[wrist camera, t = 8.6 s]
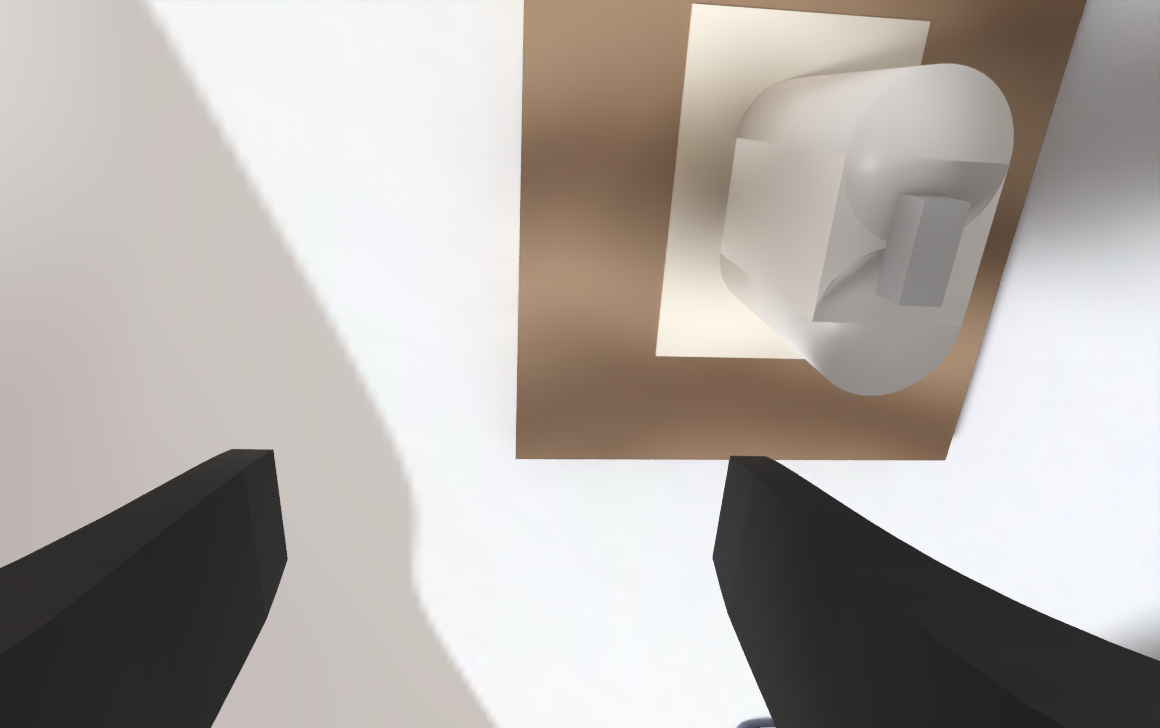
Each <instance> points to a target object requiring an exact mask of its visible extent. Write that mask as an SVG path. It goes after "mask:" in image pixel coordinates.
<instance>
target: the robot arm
mask: <svg viewBox="0 0 1160 728" xmlns="http://www.w3.org/2000/svg"><path fill="white" fill-rule="evenodd" d="M287 559H288V558H287V551H286V543H285V535H284V528H283V520H282V513H281V505H280V497H279V490H278V482H277V474H276V467H275V459H274V452H273V450H253V449H231V450H229V451H226V452H224V453H222V454H219V455H217V456H215V457H213V458H211V459H209V460H207V461H205V462H203V463H201V464H199V465H197V466H196V467H194V468H192V469H190V470H188V471H186V472H185V473H183V474H181V475H179V476H177V477H175V478H174V479H172V480H170V481H168V482H166V483H164V484H163V485H161V486H159V487H157V488H155V489H154V490H152V491H150V492H148V493H146V494H144V495H142V496H141V497H139V498H137V499H135V500H133V501H131V502H130V503H128V504H126V505H124V506H122V507H120V508H119V509H117V510H115V511H113V512H111V513H110V514H108V515H106V516H104V517H102V518H100V519H98V520H96V521H94V522H92V523H90V524H89V525H86V526H84V527H82V528H80V529H78V530H77V531H74V532H72V533H70V534H68V535H66V536H65V537H63V538H61V539H59V540H57V541H55V542H53V543H51V544H49V545H47V546H45V547H43V548H41V549H39V550H37V551H35V552H33V553H31V554H29V555H27V556H25V557H23V558H21V559H19V560H17V561H15V562H13V563H11V564H8V565H6V566H4V567H2V568H0V728H211V726H212V724H213V722H214V721H215V719H216V717H217V715H218V713H219V711H220V709H221V707H222V705H223V703H224V701H225V699H226V697H227V695H228V694H229V692H230V690H231V688H232V686H233V684H234V682H235V680H236V678H237V676H238V674H239V672H240V671H241V669H242V667H243V664H244V663H245V661H246V659H247V657H248V655H249V652H250V651H251V649H252V647H253V645H254V643H255V641H256V639H257V637H258V635H259V633H260V631H261V629H262V627H263V625H264V623H265V621H266V619H267V616H268V614H269V610H270V608H271V605H272V603H273V600H274V597H275V594H276V592H277V589H278V586H279V583H280V580H281V577H282V574H283V571H284V568H285V565H286V562H287ZM713 561H714V565H715V569H716V573H717V577H718V581H719V585H720V588H721V592H722V595H723V599H724V602H725V606H726V609H727V613H728V615H729V618H730V620H731V623H732V625H733V628H734V630H735V632H736V635H737V637H738V639H739V642H740V644H741V647H742V649H743V651H744V654H745V656H746V659H747V661H748V663H749V666H750V668H751V670H752V673H753V675H754V677H755V680H756V682H757V684H758V687H759V689H760V691H761V694H762V696H763V698H764V701H765V703H766V705H767V708H768V710H769V712H770V715H771V717H772V719H773V722H774V724H775V726H776V727H762V728H1160V661H1158V660H1155V659H1153V658H1150V657H1147V656H1145V655H1142V654H1140V653H1137V652H1134V651H1132V650H1129V649H1127V648H1124V647H1121V646H1119V645H1116V644H1114V643H1111V642H1109V641H1106V640H1104V639H1102V638H1099V637H1097V636H1095V635H1092V634H1090V633H1087V632H1085V631H1083V630H1080V629H1078V628H1076V627H1073V626H1071V625H1068V624H1066V623H1064V622H1061V621H1059V620H1057V619H1054V618H1052V617H1050V616H1047V615H1045V614H1043V613H1041V612H1038V611H1036V610H1034V609H1032V608H1030V607H1027V606H1025V605H1023V604H1021V603H1019V602H1017V601H1014V600H1012V599H1010V598H1008V597H1006V596H1004V595H1002V594H1000V593H998V592H996V591H994V590H992V589H990V588H988V587H986V586H984V585H982V584H980V583H978V582H976V581H974V580H972V579H970V578H968V577H966V576H964V575H962V574H960V573H958V572H957V571H955V570H953V569H951V568H949V567H947V566H945V565H943V564H942V563H940V562H938V561H936V560H934V559H933V558H931V557H929V556H928V555H926V554H924V553H922V552H921V551H919V550H917V549H915V548H914V547H912V546H910V545H909V544H907V543H905V542H903V541H902V540H900V539H898V538H896V537H895V536H893V535H892V534H890V533H888V532H887V531H885V530H883V529H882V528H880V527H878V526H877V525H875V524H874V523H872V522H870V521H869V520H867V519H866V518H864V517H862V516H861V515H859V514H858V513H856V512H855V511H853V510H852V509H850V508H848V507H847V506H845V505H844V504H842V503H841V502H839V501H838V500H836V499H835V498H833V497H832V496H830V495H828V494H827V493H825V492H824V491H822V490H821V489H819V488H818V487H816V486H815V485H813V484H812V483H810V482H809V481H807V480H806V479H804V478H802V477H801V476H799V475H798V474H796V473H795V472H793V471H791V470H790V469H788V468H787V467H785V466H783V465H782V464H780V463H778V462H776V461H775V460H773V459H771V458H769V457H767V456H730V459H729V465H728V471H727V477H726V482H725V488H724V494H723V500H722V505H721V511H720V517H719V523H718V529H717V534H716V540H715V546H714V552H713Z"/></svg>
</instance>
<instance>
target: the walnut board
mask: <svg viewBox="0 0 1160 728" xmlns="http://www.w3.org/2000/svg"><path fill="white" fill-rule="evenodd" d="M1085 3H1086V0H524V37H523V91H522V146H521V200H520V254H519V309H518V363H517V417H516V459H681V460H729V459H730V456H767V457H769V458H771V459H773V460H946V456H947V453H948V450H949V447H950V443H951V440H952V437H953V434H954V430H955V427H956V424H957V421H958V417H959V414H960V411H961V408H962V404H963V401H964V398H965V394H966V391H967V388H968V385H969V381H970V378H971V375H972V372H973V368H974V365H975V362H976V359H977V355H978V352H979V349H980V345H981V342H982V339H983V336H984V332H985V329H986V326H987V323H988V319H989V316H990V313H991V310H992V306H993V303H994V300H995V296H996V293H997V290H998V287H999V283H1000V280H1001V277H1002V274H1003V270H1004V267H1005V264H1006V261H1007V257H1008V254H1009V251H1010V247H1011V244H1012V241H1013V238H1014V234H1015V231H1016V228H1017V225H1018V221H1019V218H1020V215H1021V212H1022V208H1023V205H1024V202H1025V199H1026V195H1027V192H1028V189H1029V185H1030V182H1031V179H1032V176H1033V172H1034V169H1035V166H1036V163H1037V159H1038V156H1039V153H1040V150H1041V146H1042V143H1043V140H1044V136H1045V133H1046V130H1047V127H1048V123H1049V120H1050V117H1051V114H1052V110H1053V107H1054V104H1055V101H1056V97H1057V94H1058V91H1059V87H1060V84H1061V81H1062V78H1063V74H1064V71H1065V68H1066V65H1067V61H1068V58H1069V55H1070V52H1071V48H1072V45H1073V42H1074V38H1075V35H1076V32H1077V29H1078V25H1079V22H1080V19H1081V16H1082V12H1083V9H1084V6H1085ZM932 64H959V65H965V66H968V67H971V68H974V69H976V70H978V71H980V72H982V73H983V74H985V75H986V76H987V77H989V78H990V79H991V80H992V81H993V82H994V83H995V84H996V85H997V86H998V87H999V89H1000V90H1001V92H1002V93H1003V95H1004V96H1005V98H1006V101H1007V103H1008V105H1009V108H1010V111H1011V115H1012V120H1013V127H1014V142H1013V151H1012V156H1011V160H1010V164H1009V167H1008V171H1007V174H1006V178H1005V181H1004V184H1003V188H1002V191H1001V194H1000V198H999V201H998V205H997V208H996V211H995V215H994V218H993V221H992V225H991V228H990V232H989V235H988V238H987V242H986V245H985V248H984V252H983V255H982V259H981V262H980V265H979V269H978V272H977V275H976V279H975V282H974V286H973V289H972V292H971V296H970V299H969V302H968V306H967V309H966V313H965V316H964V319H963V323H962V326H961V329H960V332H959V334H958V337H957V339H956V341H955V343H954V345H953V347H952V348H951V350H950V351H949V353H948V354H947V356H946V357H945V358H944V359H943V361H942V362H941V363H940V364H939V365H938V366H937V367H936V368H935V369H934V370H933V371H932V372H931V373H929V374H928V375H927V376H926V377H924V378H923V379H921V380H920V381H918V382H917V383H915V384H913V385H911V386H909V387H907V388H905V389H902V390H900V391H897V392H894V393H890V394H885V395H877V396H866V395H858V394H853V393H850V392H847V391H845V390H842V389H841V388H839V387H837V386H835V385H834V384H833V383H831V382H830V381H829V380H828V379H827V378H826V377H824V376H823V375H822V374H821V373H820V372H819V371H818V370H817V369H816V368H814V367H813V366H812V365H811V364H810V363H809V362H808V361H807V360H806V359H804V358H803V357H802V356H801V355H800V354H799V353H798V352H797V351H796V350H794V349H793V348H792V347H791V346H790V345H789V344H788V343H787V342H785V341H784V340H783V339H782V338H781V337H780V336H779V335H778V334H777V333H775V332H774V331H773V330H772V329H771V328H770V327H769V326H768V325H767V324H765V323H764V322H763V321H762V320H761V319H760V318H759V317H758V316H757V315H755V314H754V313H753V312H752V311H751V310H750V309H749V308H748V307H747V306H745V305H744V304H743V303H742V302H741V301H740V300H739V299H738V298H736V297H735V296H734V295H733V294H732V293H731V292H730V290H729V289H728V287H727V286H726V284H725V282H724V280H723V277H722V274H721V269H720V252H721V245H722V238H723V231H724V223H725V216H726V209H727V202H728V195H729V188H730V181H731V174H732V167H733V160H734V153H735V146H736V139H737V134H738V129H739V126H740V123H741V120H742V118H743V116H744V114H745V112H746V111H747V109H748V107H749V106H750V105H751V103H752V102H753V101H754V100H755V99H756V97H757V96H758V95H759V94H761V93H762V92H763V91H764V90H766V89H767V88H769V87H770V86H772V85H773V84H776V83H778V82H780V81H783V80H787V79H791V78H799V77H809V76H820V75H830V74H840V73H850V72H861V71H871V70H881V69H891V68H901V67H912V66H922V65H932Z"/></svg>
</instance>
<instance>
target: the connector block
mask: <svg viewBox="0 0 1160 728" xmlns="http://www.w3.org/2000/svg"><path fill="white" fill-rule="evenodd" d="M1013 142H1014V127H1013V120H1012V115H1011V111H1010V108H1009V105H1008V103H1007V101H1006V98H1005V96H1004V95H1003V93H1002V92H1001V90H1000V89H999V87H998V86H997V85H996V84H995V83H994V82H993V81H992V80H991V79H990V78H989V77H987V76H986V75H985V74H983V73H982V72H980V71H978V70H976V69H974V68H971V67H968V66H965V65H959V64H932V65H922V66H912V67H901V68H891V69H881V70H871V71H861V72H850V73H840V74H830V75H820V76H809V77H799V78H791V79H787V80H783V81H780V82H778V83H776V84H773V85H772V86H770V87H769V88H767V89H766V90H764V91H763V92H762V93H761V94H759V95H758V96H757V97H756V99H755V100H754V101H753V102H752V103H751V105H750V106H749V107H748V109H747V111H746V112H745V114H744V116H743V118H742V120H741V123H740V126H739V129H738V134H737V139H736V146H735V153H734V160H733V167H732V174H731V181H730V188H729V195H728V202H727V209H726V216H725V223H724V231H723V238H722V245H721V252H720V269H721V274H722V277H723V280H724V282H725V284H726V286H727V287H728V289H729V290H730V292H731V293H732V294H733V295H734V296H735V297H736V298H738V299H739V300H740V301H741V302H742V303H743V304H744V305H745V306H747V307H748V308H749V309H750V310H751V311H752V312H753V313H754V314H755V315H757V316H758V317H759V318H760V319H761V320H762V321H763V322H764V323H765V324H767V325H768V326H769V327H770V328H771V329H772V330H773V331H774V332H775V333H777V334H778V335H779V336H780V337H781V338H782V339H783V340H784V341H785V342H787V343H788V344H789V345H790V346H791V347H792V348H793V349H794V350H796V351H797V352H798V353H799V354H800V355H801V356H802V357H803V358H804V359H806V360H807V361H808V362H809V363H810V364H811V365H812V366H813V367H814V368H816V369H817V370H818V371H819V372H820V373H821V374H822V375H823V376H824V377H826V378H827V379H828V380H829V381H830V382H831V383H833V384H834V385H835V386H837V387H839V388H841V389H842V390H845V391H847V392H850V393H853V394H858V395H866V396H877V395H885V394H890V393H894V392H897V391H900V390H902V389H905V388H907V387H909V386H911V385H913V384H915V383H917V382H918V381H920V380H921V379H923V378H924V377H926V376H927V375H928V374H929V373H931V372H932V371H933V370H934V369H935V368H936V367H937V366H938V365H939V364H940V363H941V362H942V361H943V359H944V358H945V357H946V356H947V354H948V353H949V351H950V350H951V348H952V347H953V345H954V343H955V341H956V339H957V337H958V334H959V332H960V329H961V326H962V323H963V319H964V316H965V313H966V309H967V306H968V302H969V299H970V296H971V292H972V289H973V286H974V282H975V279H976V275H977V272H978V269H979V265H980V262H981V259H982V255H983V252H984V248H985V245H986V242H987V238H988V235H989V232H990V228H991V225H992V221H993V218H994V215H995V211H996V208H997V205H998V201H999V198H1000V194H1001V191H1002V188H1003V184H1004V181H1005V178H1006V174H1007V171H1008V167H1009V164H1010V160H1011V156H1012V151H1013Z"/></svg>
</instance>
